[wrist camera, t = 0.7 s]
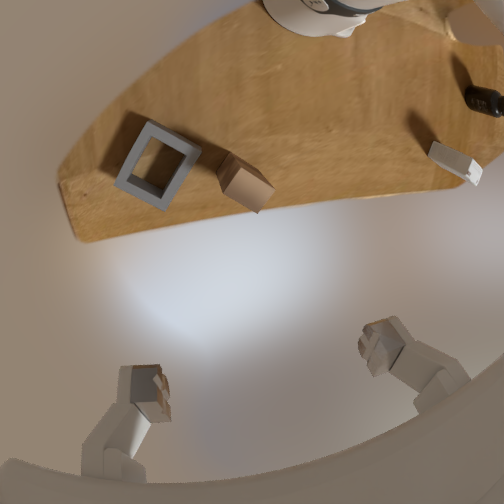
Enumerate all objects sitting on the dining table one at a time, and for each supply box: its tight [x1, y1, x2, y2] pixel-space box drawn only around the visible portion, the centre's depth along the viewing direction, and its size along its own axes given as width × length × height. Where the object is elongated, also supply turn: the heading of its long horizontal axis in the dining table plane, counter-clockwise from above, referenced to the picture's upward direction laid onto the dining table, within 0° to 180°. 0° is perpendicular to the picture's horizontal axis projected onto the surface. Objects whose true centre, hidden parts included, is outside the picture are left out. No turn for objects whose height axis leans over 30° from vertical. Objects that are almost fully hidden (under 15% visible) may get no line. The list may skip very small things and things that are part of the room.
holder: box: [114, 119, 202, 212], centre depth 37 cm, size 10×9×4 cm
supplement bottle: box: [465, 85, 504, 118], centre depth 36 cm, size 7×7×12 cm
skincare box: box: [428, 141, 483, 186], centre depth 43 cm, size 6×4×12 cm
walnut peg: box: [216, 152, 275, 214], centre depth 38 cm, size 4×6×10 cm
